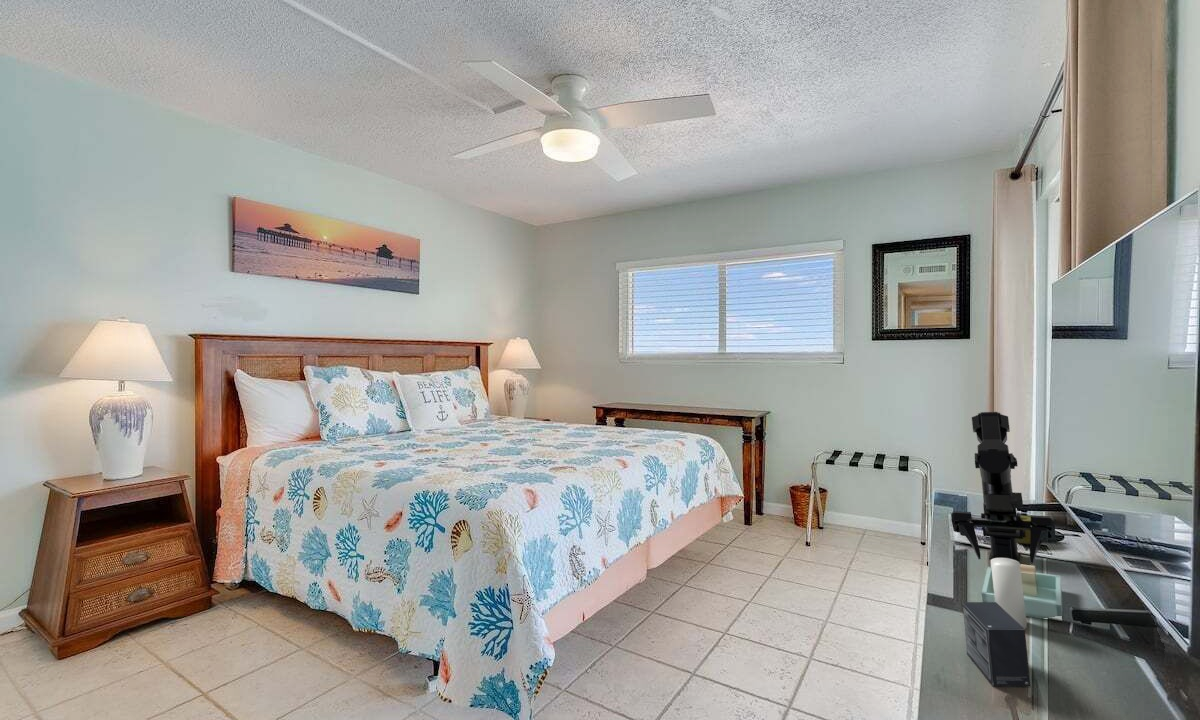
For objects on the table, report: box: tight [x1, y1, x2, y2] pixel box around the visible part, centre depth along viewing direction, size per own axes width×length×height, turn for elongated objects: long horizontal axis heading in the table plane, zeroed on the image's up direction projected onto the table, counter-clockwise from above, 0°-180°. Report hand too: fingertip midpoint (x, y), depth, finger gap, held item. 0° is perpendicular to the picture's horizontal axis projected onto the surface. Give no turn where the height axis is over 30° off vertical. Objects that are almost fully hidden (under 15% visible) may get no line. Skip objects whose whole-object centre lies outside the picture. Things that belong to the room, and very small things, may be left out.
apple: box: [1016, 515, 1031, 545], centre depth 153 cm, size 8×8×7 cm
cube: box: [1020, 563, 1037, 596], centre depth 127 cm, size 5×5×5 cm
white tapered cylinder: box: [990, 558, 1027, 630], centre depth 116 cm, size 5×5×13 cm
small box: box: [961, 601, 1031, 688], centre depth 102 cm, size 11×6×10 cm, turn 169°
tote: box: [981, 566, 1063, 619], centre depth 124 cm, size 16×14×4 cm
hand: (1005, 560), depth 120 cm, fingers open, 9 cm apart
